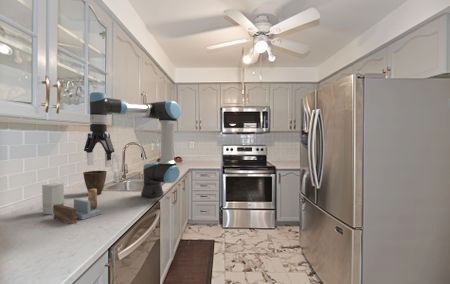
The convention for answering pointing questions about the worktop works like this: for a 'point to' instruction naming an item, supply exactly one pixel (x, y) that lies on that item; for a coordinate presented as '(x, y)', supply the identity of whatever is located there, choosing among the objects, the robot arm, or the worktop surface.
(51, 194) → the skincare box
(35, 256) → the worktop surface
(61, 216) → the board
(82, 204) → the fork block
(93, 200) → the dowel
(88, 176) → the plant pot
